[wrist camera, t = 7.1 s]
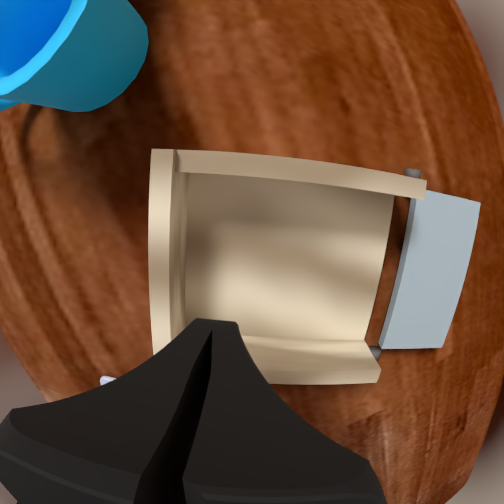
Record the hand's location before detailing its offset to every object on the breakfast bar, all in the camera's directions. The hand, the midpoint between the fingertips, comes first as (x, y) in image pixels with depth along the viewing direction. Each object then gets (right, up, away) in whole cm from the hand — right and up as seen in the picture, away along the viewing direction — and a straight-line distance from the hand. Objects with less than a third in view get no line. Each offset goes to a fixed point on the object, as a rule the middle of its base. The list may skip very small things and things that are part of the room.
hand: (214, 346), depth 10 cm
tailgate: (+10, +2, +9) cm, 14 cm away
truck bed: (+3, +3, +10) cm, 10 cm away
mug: (-11, +15, +6) cm, 20 cm away
